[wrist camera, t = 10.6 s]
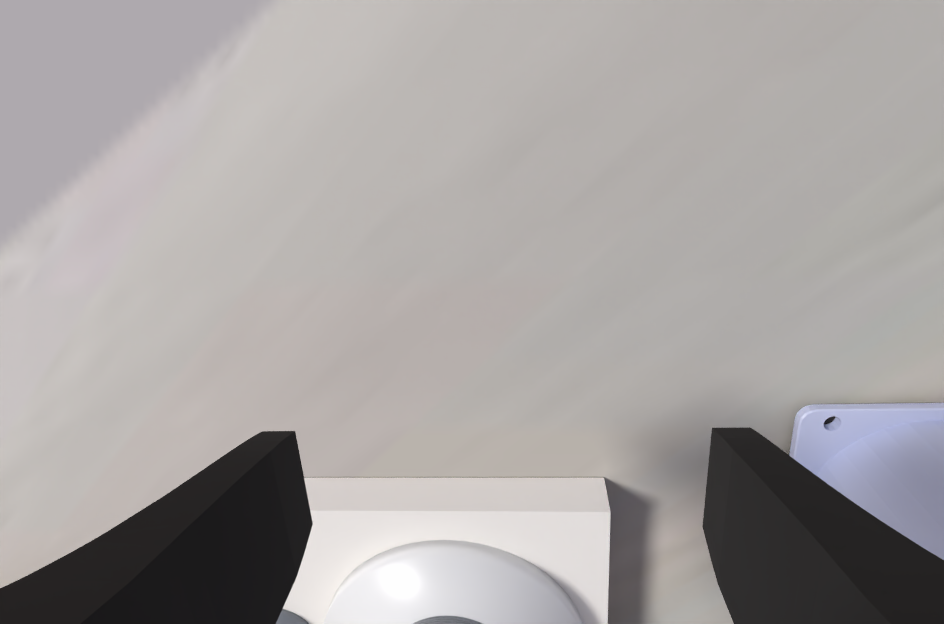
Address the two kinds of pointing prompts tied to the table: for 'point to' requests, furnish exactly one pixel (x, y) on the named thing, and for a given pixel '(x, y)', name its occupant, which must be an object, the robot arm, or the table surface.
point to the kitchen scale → (454, 551)
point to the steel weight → (447, 620)
